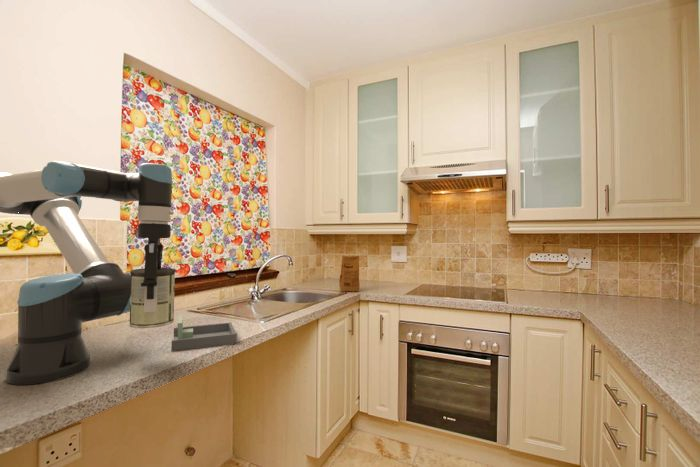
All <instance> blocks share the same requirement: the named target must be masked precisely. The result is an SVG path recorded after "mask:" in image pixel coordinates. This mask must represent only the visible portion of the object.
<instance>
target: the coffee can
mask: <svg viewBox="0 0 700 467" xmlns="http://www.w3.org/2000/svg"><path fill="white" fill-rule="evenodd" d="M144 272H145V267H144V268H136V269H131V270H130V271H129V273H130V274H131V285H130V312H129V325H128V326H129V327H130V328H133V329H151V328H152V329H153V328H159V327H165V326H167V325H168V326H169V325H171V324H173V323H174V322H175V314H174V313H175V280H176V278H175V277H176V275H175V274H176V269H175V268H173V267H172V268H169V267H161V268H160V269H158V270H157V311H156V312H144V286H141V283H143V281H144Z"/></svg>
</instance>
